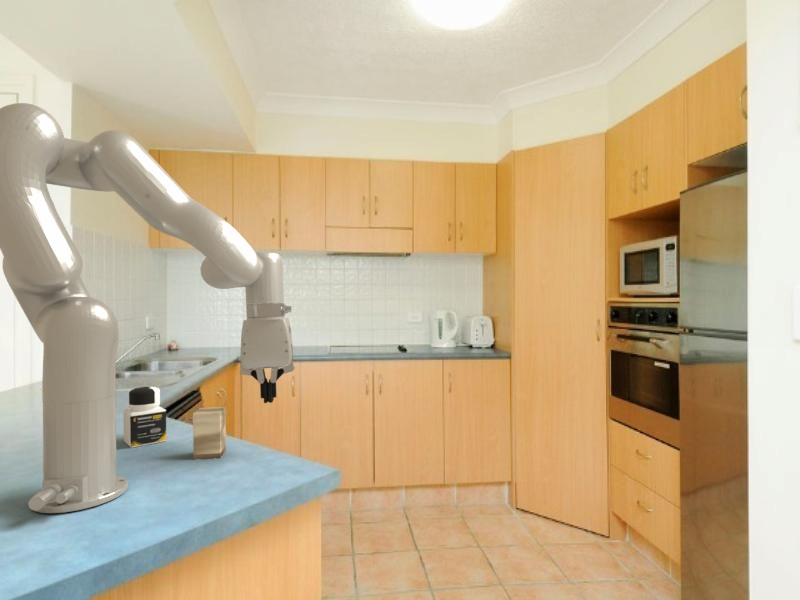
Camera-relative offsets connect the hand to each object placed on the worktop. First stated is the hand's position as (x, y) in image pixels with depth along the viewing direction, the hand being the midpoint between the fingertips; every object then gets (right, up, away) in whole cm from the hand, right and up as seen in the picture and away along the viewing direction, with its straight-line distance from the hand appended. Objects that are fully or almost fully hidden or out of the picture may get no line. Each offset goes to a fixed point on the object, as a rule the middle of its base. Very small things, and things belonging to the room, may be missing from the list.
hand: (268, 401), depth 95 cm
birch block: (-11, -10, -2) cm, 15 cm away
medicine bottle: (-30, -11, +8) cm, 33 cm away
